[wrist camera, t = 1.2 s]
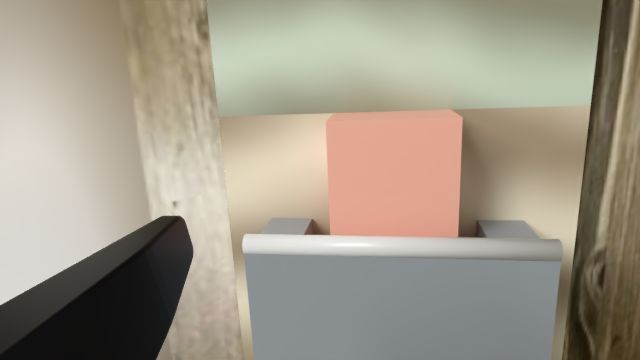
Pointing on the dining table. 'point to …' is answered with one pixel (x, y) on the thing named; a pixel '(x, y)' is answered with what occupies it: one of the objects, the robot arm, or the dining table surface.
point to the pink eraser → (394, 173)
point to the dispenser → (401, 294)
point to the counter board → (406, 106)
